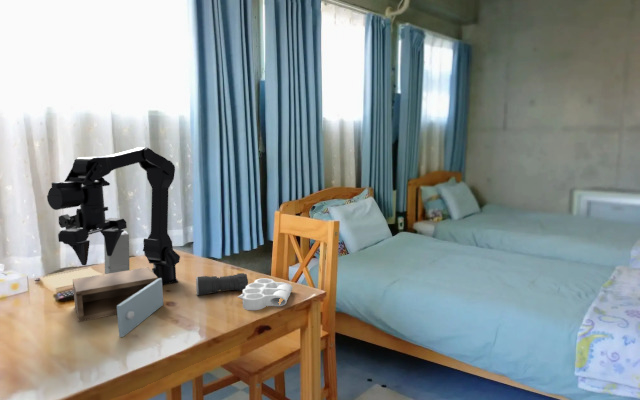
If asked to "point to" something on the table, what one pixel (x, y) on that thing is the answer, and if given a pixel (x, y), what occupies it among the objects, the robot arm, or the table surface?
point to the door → (139, 306)
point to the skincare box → (118, 255)
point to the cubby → (108, 291)
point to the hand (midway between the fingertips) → (97, 260)
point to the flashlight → (220, 283)
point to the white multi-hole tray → (265, 294)
